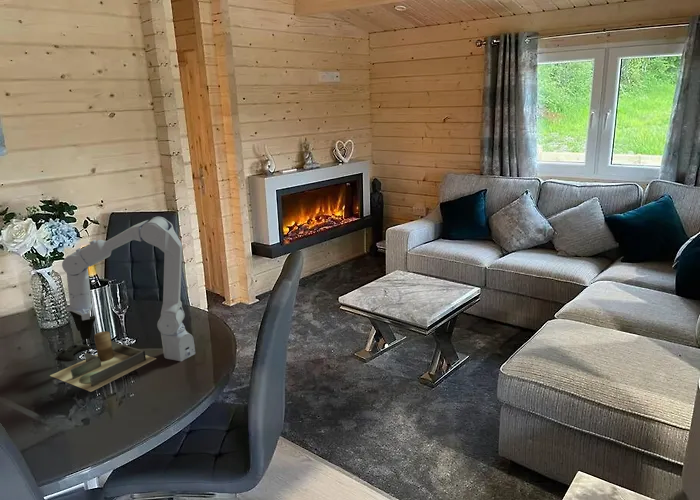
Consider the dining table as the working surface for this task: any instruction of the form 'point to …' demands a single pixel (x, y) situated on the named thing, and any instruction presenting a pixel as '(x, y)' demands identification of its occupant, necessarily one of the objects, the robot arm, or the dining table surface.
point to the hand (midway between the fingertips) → (83, 334)
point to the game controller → (72, 352)
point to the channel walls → (94, 363)
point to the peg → (104, 345)
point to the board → (85, 380)
